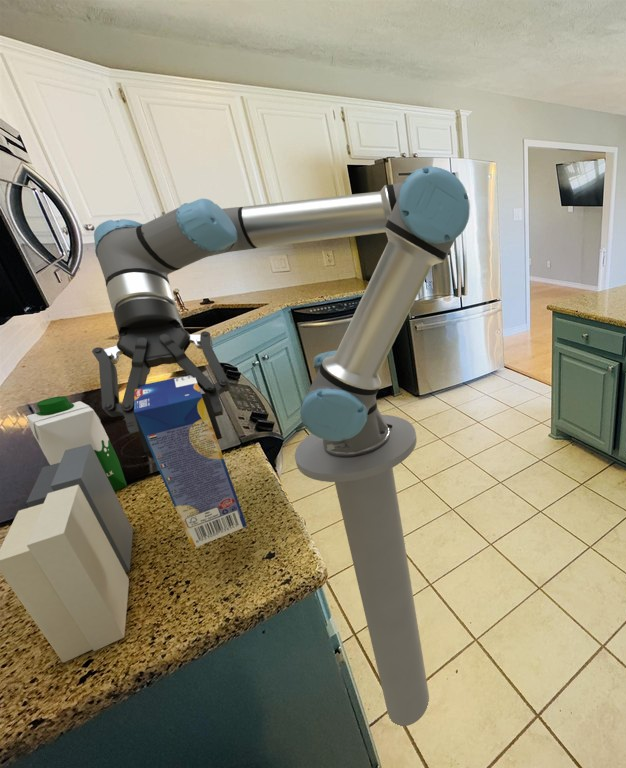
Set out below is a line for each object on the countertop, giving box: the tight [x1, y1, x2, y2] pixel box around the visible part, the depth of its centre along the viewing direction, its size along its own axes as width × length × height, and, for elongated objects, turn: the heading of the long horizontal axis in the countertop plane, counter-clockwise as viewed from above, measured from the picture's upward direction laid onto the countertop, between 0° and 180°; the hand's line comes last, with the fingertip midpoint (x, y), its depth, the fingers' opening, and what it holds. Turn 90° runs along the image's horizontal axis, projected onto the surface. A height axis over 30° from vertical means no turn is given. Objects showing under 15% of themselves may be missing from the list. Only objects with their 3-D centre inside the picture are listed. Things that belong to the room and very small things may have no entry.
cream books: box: [0, 485, 130, 664], centre depth 53 cm, size 6×12×18 cm, turn 39°
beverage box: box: [134, 374, 248, 550], centre depth 60 cm, size 7×11×22 cm, turn 40°
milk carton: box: [26, 395, 128, 492], centre depth 80 cm, size 9×9×20 cm
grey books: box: [25, 444, 134, 574], centre depth 63 cm, size 6×12×18 cm, turn 39°
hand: (185, 444), depth 57 cm, fingers closed on beverage box, 7 cm apart
